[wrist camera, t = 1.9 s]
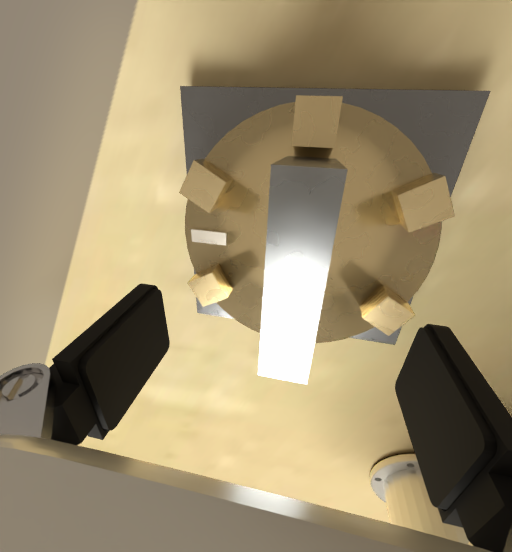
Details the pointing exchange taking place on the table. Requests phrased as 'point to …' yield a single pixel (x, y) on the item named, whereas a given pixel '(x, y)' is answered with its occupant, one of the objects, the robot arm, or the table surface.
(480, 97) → the base plate
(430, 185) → the round hub with lugs
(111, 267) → the table surface
